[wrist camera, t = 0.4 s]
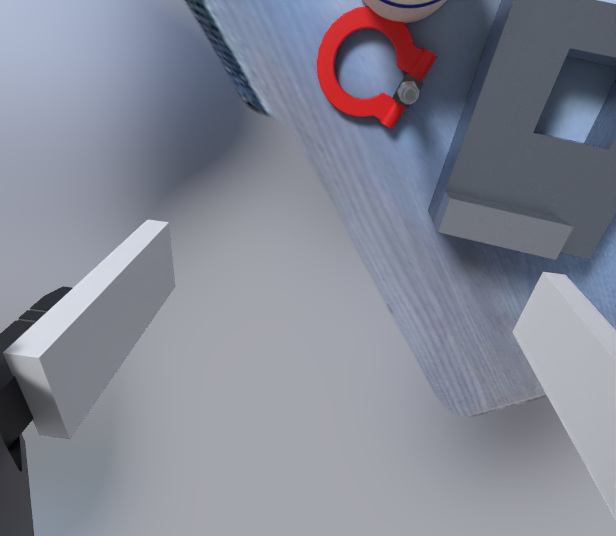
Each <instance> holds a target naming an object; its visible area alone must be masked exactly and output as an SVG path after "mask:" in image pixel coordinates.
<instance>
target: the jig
mask: <svg viewBox="0 0 616 536" xmlns="http://www.w3.org/2000/svg"><path fill="white" fill-rule="evenodd" d="M566 57H569V58H574V59H579V60H584V61H589V62H594V63H598V64H603V65H608V66H613V67H616V4H612V3H607V2H602V1H597V0H501V2H500V5H499V8H498V11H497V14H496V17H495V20H494V23H493V25H492V28H491V31H490V34H489V37H488V40H487V43H486V46H485V48H484V51H483V54H482V57H481V60H480V63H479V66H478V69H477V71H476V74H475V77H474V80H473V83H472V86H471V89H470V92H469V94H468V97H467V100H466V103H465V106H464V109H463V112H462V115H461V118H460V120H459V123H458V126H457V129H456V132H455V135H454V138H453V141H452V143H451V146H450V149H449V152H448V155H447V158H446V161H445V164H444V166H443V169H442V172H441V175H440V178H439V181H438V184H437V187H436V189H435V192H434V195H433V198H432V201H431V204H430V207H429V210H428V212H429V214H430V216H431V218H432V221H433V223H434V225H435V227H436V229H437V231H438V232H439V233H444V234H448V235H452V236H456V237H461V238H465V239H469V240H473V241H477V242H482V243H486V244H490V245H494V246H499V247H503V248H507V249H511V250H516V251H520V252H524V253H528V254H533V255H537V256H541V257H545V258H550V259H554V260H556V259H557V257H558V255H559V253H563V254H568V255H572V256H576V257H581V258H585V259H590V257H591V256H592V254H593V252H594V250H595V249H596V247H597V245H598V243H599V242H600V240H601V238H602V236H603V235H604V233H605V231H606V230H607V228H608V226H609V224H610V223H611V221H612V219H613V217H614V216H615V214H616V80H615V82H614V84H613V86H612V88H611V90H610V92H609V94H608V96H607V98H606V100H605V102H604V104H603V106H602V108H601V111H600V113H599V115H598V117H597V119H596V121H595V123H594V125H593V127H592V129H591V131H590V133H589V135H588V137H587V139H586V141H585V143H580V142H576V141H571V140H566V139H562V138H557V137H553V136H548V135H543V134H539V133H534V130H535V127H536V125H537V123H538V120H539V118H540V116H541V114H542V111H543V109H544V107H545V104H546V102H547V100H548V97H549V95H550V93H551V91H552V88H553V86H554V84H555V81H556V79H557V77H558V74H559V72H560V70H561V67H562V65H563V63H564V61H565V58H566Z"/></svg>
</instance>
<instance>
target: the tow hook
mask: <svg viewBox="0 0 616 536" xmlns="http://www.w3.org/2000/svg"><path fill="white" fill-rule="evenodd" d="M368 28H370V29H375V30H378V31H380V32H382V33H384V34H385V35H386V36H387V37H388V38H389V39H390V40H391V41H392V43H393V45H394V47H395V50H396V54H397V65H398V67H399V68H400V69H402V70H404V71H405V72H407V73H408V74H406V75H405V77H404V78H403V80H402V82H401V83H400V85H399V87H398V89H397V90H396V92H395V94H394V95H393V98H392V97H390V96H388V95H387V94H385V93H380V94H379V95H378V96H375V97H372V98H368V99H360V98H355V97H353V96H351V95H349V94H347V93H346V92H345V91H344V90H343V89H342V88H341V86H340V84H339V83H338V81H337V78H336V74H335V59H336V54H337V52H338V49H339V47H340V45H341V44H342V43H343V41H344V40H345V39H346V38H347V37H348V36H349V35H351V34H352V33H354V32H356V31H358V30H360V29H368ZM436 58H437V56H436V55H435V54H434V53H433V52H431V51H430V50H428V49H425V48H423V49H422V50H421V49H419V48H418V47H416V46H415V45H414V43H413V38H412V36H411V34H410V32H409V30H408V28H407V26H406V25H405V24H404V23H403V22H399V21H392V20H389V19H386V18H384V17H382V16H380V15H378V14H377V13H375V12H374V11H373V10H372V9H371V8H370V7H369V6H367V7H359V8H356V9H353V10H351V11H349V12H347V13H345V14H343V15H342V16H341V17H340V18H339V19H337V20H336V21H335V22H334V23H333V24H332V25H331V27H330V28H329V30H328V31H327V32H326V34H325V35H324V38H323V40H322V43H321V45H320V48H319V53H318V59H317V73H318V79H319V82H320V85H321V89H322V91H323V92H324V94H325V96H326V97H327V99H328V100H329V101H330V102H331V103H332V104H333V105H334V106H335V107H336V108H337V109H338V110H340V111H342V112H344V113H346V114H348V115H352V116H357V117H368V116H375V117H376V118H378V119H380V122H381V123H382V124H384V125H385V126H387V127H389V128H391V129H393V128H394V126H395V125H396V123H397V121H398V120H399V118H400V116H401V115H402V113H403V112H404V110H405V108H406V107H409V106H410V104H413V103H414V102H416V100H417V99H418V97H419V90H420V88H421V86H422V81H423V79H424V77H425V76H426V74H427V72H428V71H429V69H430V67H431V66H432V64H433V63H434V61H435V59H436Z"/></svg>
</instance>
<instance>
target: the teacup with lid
mask: <svg viewBox="0 0 616 536" xmlns="http://www.w3.org/2000/svg"><path fill="white" fill-rule="evenodd" d="M363 1H364V3H365V4H366V6H369V7H370V8H371V9H372V10H373V11H374V12H375V13H377V14H378V15H380V16H382V17H384V18H386V19H389V20H392V21H399V22H403V23H412V22H416V21H419V20H421V19H424V18H426V17H428V16H429V15H431V14H432V13H434V12H435V11H436V10H438V9H439V8H440V7H441V6H442V5H443V4H444V3H445V2H446V1H447V0H363Z"/></svg>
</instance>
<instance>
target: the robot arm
mask: <svg viewBox="0 0 616 536" xmlns="http://www.w3.org/2000/svg"><path fill="white" fill-rule="evenodd" d="M174 288H175V278H174V269H173V259H172V250H171V239H170V230H169V223H168V222H161V221H154V220H147V221H146V222H145V223H143V224H142V225H141V226H140V227H139V228H138V229H137V230H136V231H135V232H134V233H132V234H131V235H130V236H129V237H128V238H127V239H126V240H125V241H124V242H123V243H122V244H121V245H119V246H118V247H117V248H116V249H115V250H114V251H113V252H112V253H111V254H110V255H109V256H108V257H106V258H105V259H104V260H103V261H102V262H101V263H100V264H99V265H98V266H97V267H95V268H94V269H93V270H92V271H91V272H90V273H89V274H88V275H87V276H86V277H85V278H84V279H82V280H81V281H80V283H78V284H77V285H76V286H75V287H74V288H70V287H61V288H59V289H57V290H55V291H53V292H51V293H49V294H47V295H45V296H44V297H42V298H41V299H40V300H39V301H38V302H37V303H35V304H34V305H33V306H32V307H31V308H30V311H29V310H27V311H26V312H25V313H24V314H23V315H21V316H20V317H19V320H18V321H14V322H13V323H12V324H11V325H10V326H9V327H8V328H6V329H5V330H4V331H3V332H2V333H0V536H34V531H33V519H32V509H31V499H30V489H29V478H28V468H27V459H26V448H25V441H24V438H23V436H22V434H21V433H22V432H23V431H24V429H25V428H26V427H27V426H28V425H29V423H30V422H31V421H32V420H33V422H34V424H35V426H36V428H37V431H38V433H39V435H44V436H51V437H59V438H65V439H70V438H71V437H72V435H73V434H74V433H75V431H76V430H77V428H78V427H79V425H80V424H81V422H82V421H83V419H84V418H85V417H86V415H87V414H88V412H89V411H90V409H91V408H92V406H93V405H94V404H95V402H96V401H97V399H98V398H99V396H100V395H101V393H102V392H103V391H104V389H105V388H106V386H107V385H108V383H109V382H110V380H111V379H112V378H113V376H114V374H115V373H116V372H117V370H118V369H119V367H120V366H121V364H122V363H123V362H124V360H125V359H126V357H127V356H128V354H129V353H130V351H131V350H132V349H133V347H134V346H135V344H136V343H137V341H138V340H139V338H140V337H141V335H142V334H143V333H144V331H145V329H146V328H147V327H148V325H149V324H150V322H151V321H152V319H153V318H154V317H155V315H156V314H157V312H158V311H159V309H160V308H161V306H162V305H163V304H164V302H165V301H166V299H167V298H168V296H169V295H170V293H171V292H172V290H173V289H174ZM513 334H514V336H515V338H516V340H517V342H518V343H519V345H520V347H521V349H522V351H523V353H524V354H525V356H526V358H527V360H528V362H529V364H530V365H531V367H532V369H533V371H534V373H535V374H536V376H537V378H538V380H539V382H540V384H541V385H542V387H543V389H544V391H545V393H546V395H547V396H548V398H549V400H550V402H551V404H552V406H553V407H554V409H555V411H556V413H557V415H558V416H559V418H560V420H561V422H562V424H563V426H564V427H565V429H566V431H567V433H568V434H569V437H570V438H571V440H572V442H573V444H574V446H575V448H576V449H577V451H578V453H579V455H580V457H581V459H582V460H583V462H584V464H585V466H586V467H587V469H588V471H589V473H590V475H591V477H592V478H593V480H594V482H595V484H596V486H597V488H598V490H599V491H600V493H601V495H602V497H603V499H604V501H605V502H606V504H607V506H608V508H609V510H610V511H611V513H612V515H613V517H614V519H615V520H616V330H615V329H614V328H613V327H612V326H611V325H610V324H609V323H608V322H607V320H606V319H605V318H604V317H603V316H602V315H601V314H600V313H599V312H598V310H597V309H596V308H595V307H594V306H593V305H592V304H591V303H590V302H589V300H588V299H587V298H586V297H585V296H584V295H583V294H582V293H581V292H580V290H579V289H578V288H577V287H576V286H575V285H574V284H573V283H572V282H571V280H570V279H569V278H568V277H567V276H566V275H564V274H556V273H549V272H543V273H542V275H541V277H540V278H539V280H538V282H537V284H536V286H535V288H534V290H533V292H532V294H531V296H530V298H529V300H528V302H527V304H526V306H525V308H524V310H523V312H522V314H521V316H520V318H519V320H518V322H517V324H516V326H515V328H514V330H513Z"/></svg>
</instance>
